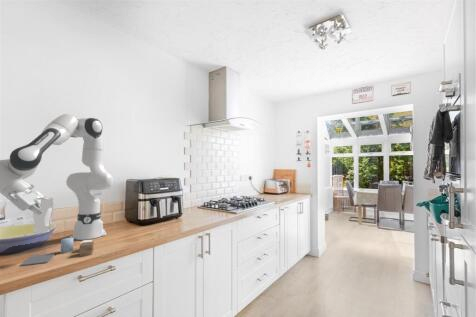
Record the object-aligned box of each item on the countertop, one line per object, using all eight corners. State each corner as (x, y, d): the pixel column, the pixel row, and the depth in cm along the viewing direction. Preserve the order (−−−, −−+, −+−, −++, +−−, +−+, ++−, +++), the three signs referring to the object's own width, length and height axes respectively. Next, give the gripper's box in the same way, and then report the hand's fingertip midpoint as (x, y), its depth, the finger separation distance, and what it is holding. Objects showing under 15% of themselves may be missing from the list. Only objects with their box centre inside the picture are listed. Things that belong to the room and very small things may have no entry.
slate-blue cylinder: (62, 250, 116) (62, 238, 116) (74, 249, 118) (74, 237, 118) (59, 253, 111) (59, 241, 112) (71, 252, 113) (72, 239, 114)
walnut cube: (81, 252, 113) (81, 242, 113) (93, 251, 115) (93, 241, 115) (79, 256, 108) (79, 245, 109) (91, 254, 110) (92, 244, 111)
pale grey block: (82, 248, 120) (83, 240, 120) (91, 247, 121) (92, 239, 122) (79, 252, 114) (79, 243, 115) (89, 251, 116) (89, 242, 116)
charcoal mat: (31, 256, 108) (31, 255, 108) (55, 253, 111) (55, 252, 111) (20, 266, 97) (20, 265, 97) (47, 262, 100) (47, 261, 100)
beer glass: (29, 232, 104) (31, 198, 105) (48, 229, 110) (50, 197, 111) (34, 234, 100) (36, 199, 101) (53, 231, 106) (56, 198, 107)
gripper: (13, 187, 94) (42, 210, 97) (33, 184, 113) (57, 203, 116) (-2, 198, 92) (28, 221, 95) (21, 194, 110) (46, 213, 114)
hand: (44, 211), depth 106 cm, fingers closed on beer glass, 7 cm apart
